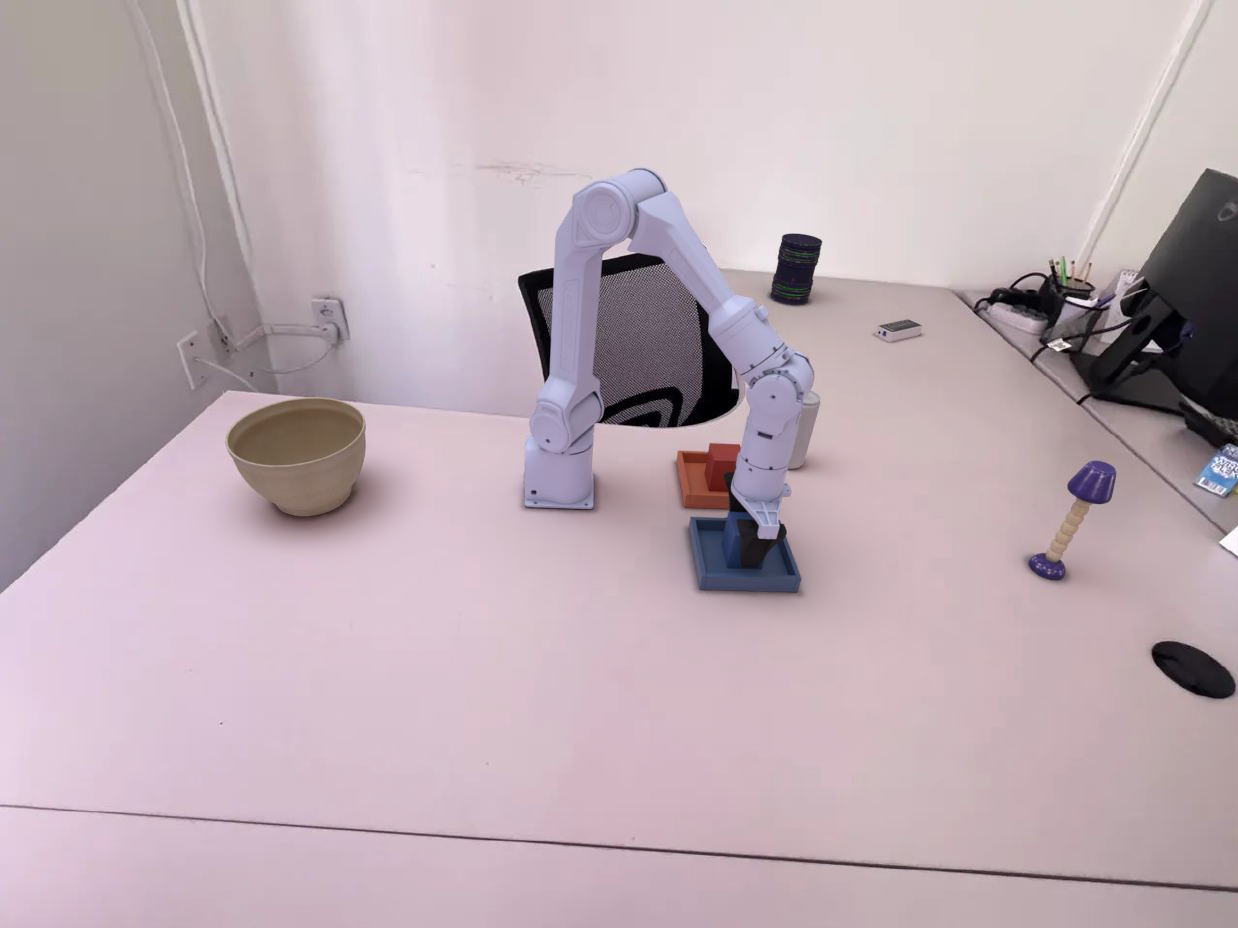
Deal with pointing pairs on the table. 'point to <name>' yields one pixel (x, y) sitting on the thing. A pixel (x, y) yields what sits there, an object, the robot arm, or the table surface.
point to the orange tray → (697, 482)
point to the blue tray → (716, 576)
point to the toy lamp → (1076, 514)
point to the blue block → (734, 540)
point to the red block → (720, 464)
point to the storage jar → (795, 268)
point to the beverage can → (805, 429)
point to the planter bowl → (300, 452)
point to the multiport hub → (898, 330)
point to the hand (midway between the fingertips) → (743, 544)
